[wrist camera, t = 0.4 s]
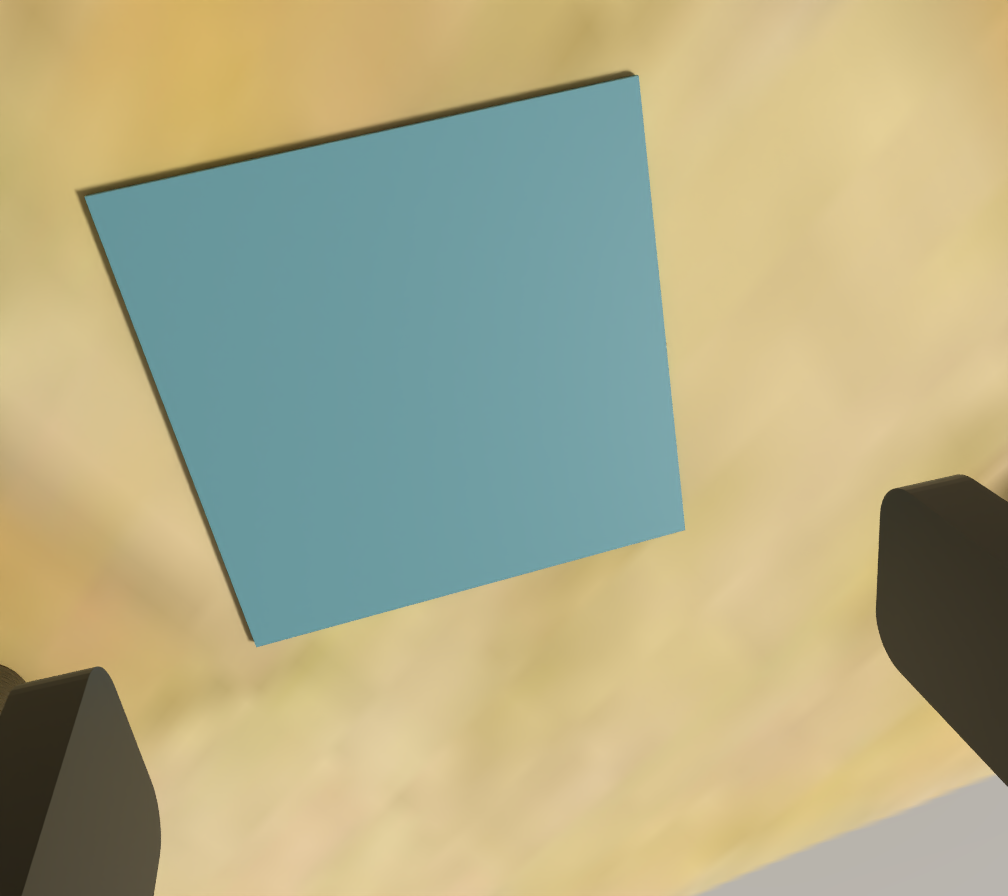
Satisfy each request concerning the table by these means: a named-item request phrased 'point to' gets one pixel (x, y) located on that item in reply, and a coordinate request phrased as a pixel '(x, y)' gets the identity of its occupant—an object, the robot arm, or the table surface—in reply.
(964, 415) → the table surface
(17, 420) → the table surface
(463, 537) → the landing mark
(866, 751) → the table surface
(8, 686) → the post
